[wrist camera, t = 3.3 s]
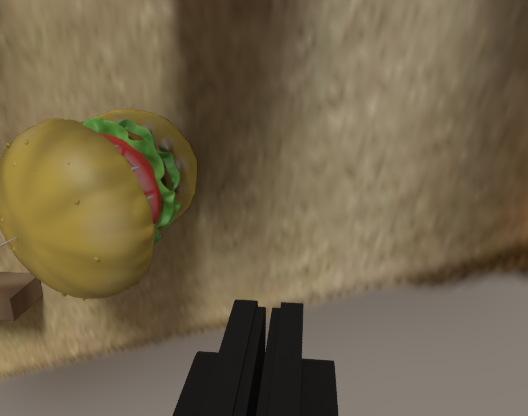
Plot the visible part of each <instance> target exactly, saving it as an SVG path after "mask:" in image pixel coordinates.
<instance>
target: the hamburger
mask: <svg viewBox="0 0 528 416" xmlns="http://www.w3.org/2000/svg"><path fill="white" fill-rule="evenodd" d="M6 146H7V148H6V150H5V151H4V153H3V155H2V156H1V158H0V228H1V230H2V233H3V235H4V237H5V239H6V241H7V242H4V243H2V244H0V247H1V246H3V245H5V244H7V243H8V244H9V248H10V249H12V251H13V253H14V254H15V256H16V257H17V259H18V260H19V261H20V262H21V263H22V265H23V266H24V267H25V268H26V269H27V270H28V271H29V272H30V273H31V274H32V275H33V276H35V277H36V278H37V279H39V280H40V281H41V282H43V283H44V284H46V285H47V286H49V287H50V288H52V289H54V290H56V291H58V292H61V293H63V294H62V295H63V296H64V297H65V296H66V294H67V295H70V296H73V297H78V298H82V300H85V299H93V298H104V297H108V296H112V295H115V294H117V293H120V292H122V291H124V290H126V289H129V288H130V287H132V286H134V285H135V284H137V283H138V282H139V281H140V279H141V278H142V277H143V276H144V275H145V274H146V273H147V271H148V270H149V268H150V266H151V261H152V255H153V249H154V244H155V243H156V242H158V241H159V240H160V239H161V238H162V236H161V235H160V233H159V230H163V229H166V228H167V227H168V226H169V225H170V224H171V223H172V222H174V221H175V220H176V219H178V218H179V217H180V215H181V214H182V213H183V212H185V211H186V210H187V209H188V207H189V206H190V203H191V200H192V197H193V196H194V194H195V192H196V179H197V159H196V157H195V155H194V153H193V152H192V147H191V145H190V143H189V142H188V141H187V140H186V139H185V138H184V137H183V135H182V133H181V132H180V130H179V129H177V128H176V127H174V126H173V124H172V123H171V122H170V121H169V120H167V119H166V118H163V117H160V116H157V115H155V114H154V113H152V112H145V111H139V110H135V109H128V110H121V109H114V110H111V111H109V112H108V113H106V114H104V115H99V116H97V117H95V118H92V119H89V120H87V121H85V122H80V123H79V122H77V121H74V120H65V119H58V118H54V119H47V120H45V121H43V122H41V123H40V124H38V125H36V126H33V127H31V128H29V129H27V130H26V131H24V132H22V133H21V134H20V135H18V136H17V137H16V138H15V139H14V140H13V141H12V142H11V143H6Z"/></svg>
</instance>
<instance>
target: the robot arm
mask: <svg viewBox="0 0 528 416" xmlns="http://www.w3.org/2000/svg"><path fill="white" fill-rule="evenodd" d="M302 329H303V304H302V303H286V302H281V308H272V313H271V319H270V326H269V332H268V339H267V346H266V352H265V335H266V334H265V333H266V308H265V307H258V302H257V301H252V300H235V301H234V304H233V307H232V311H231V314H230V317H229V321H228V324H227V327H226V330H225V334H224V337H223V340H222V343H221V347H220V350H219V353H216V352H201V351H199V352H197V353H196V356H195V358H194V360H193V363H192V366H191V368H190V371H189V374H188V376H187V379H186V382H185V384H184V387H183V390H182V392H181V395H180V397H179V400H178V403H177V405H176V408H175V411H174V413H173V416H338V404H337V391H336V378H335V365H334V361H329V360H315V359H302V331H303V330H302Z"/></svg>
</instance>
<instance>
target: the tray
mask: <svg viewBox="0 0 528 416" xmlns="http://www.w3.org/2000/svg"><path fill="white" fill-rule="evenodd" d="M41 296H42V289H41V283H40V280H39V279H37V278H36V277H35V276H33V275H32V274H24V273H9V272H0V320H7V321H15V320H16V319H17V318H18V317H19V316H20V315H21V314H22V313H24V312H25V311H26V310H27V309H28V308H29V307H30V306H31V305H32V304H33V303H34V302H35V301H36V300H38V299H39V298H40V297H41Z"/></svg>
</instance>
